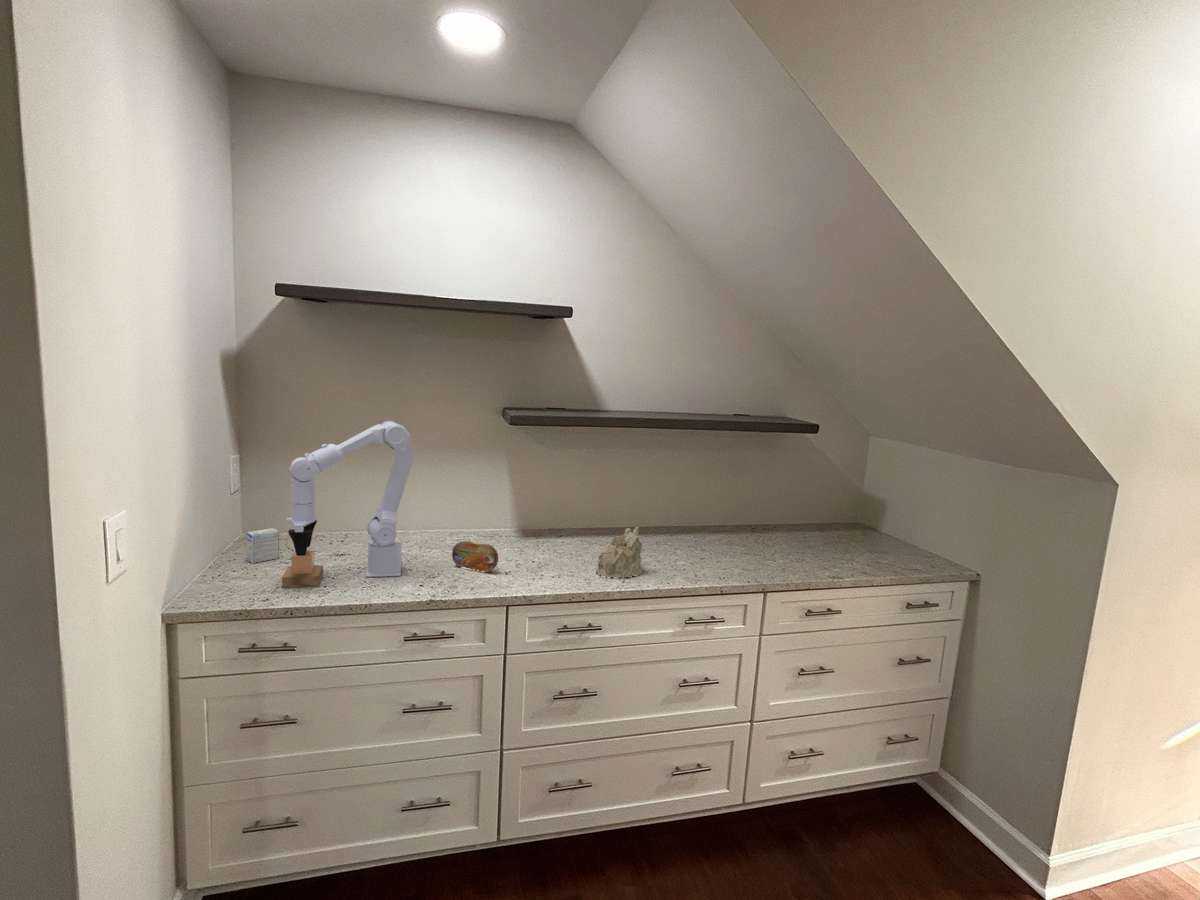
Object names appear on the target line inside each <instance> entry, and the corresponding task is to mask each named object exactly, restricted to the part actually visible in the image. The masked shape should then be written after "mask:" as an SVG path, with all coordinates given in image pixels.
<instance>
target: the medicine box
mask: <svg viewBox="0 0 1200 900" xmlns="http://www.w3.org/2000/svg"><path fill="white" fill-rule="evenodd" d="M245 548H246V550H245V552H246V553H245V554H246V561H247V560H248V561H247V562H249V561H250V562H251V563H250V562H249V563H250V564H252V563H253V564H257V563H256V562H258V563H263V562H267V560H268V561H271V560H272V559H273V560H276V559H280V554H281V553H280V531H279V530H277V529H276V528H272V527H271V528H266V529H259V530H253V531H247V532H246V533H245ZM262 561H263V562H262Z"/></svg>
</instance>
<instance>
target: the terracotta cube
mask: <svg viewBox="0 0 1200 900" xmlns="http://www.w3.org/2000/svg"><path fill="white" fill-rule="evenodd" d="M290 560H291V561H290V562H291V563H290V564H291V565H290V566H291V570H292V574H312V572H313V570H314V565H315V550H313V549H312V550H307V551H306V555H305V556H297V555H296V551H295V550H294V551H293V553H292V554H291V559H290Z"/></svg>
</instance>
